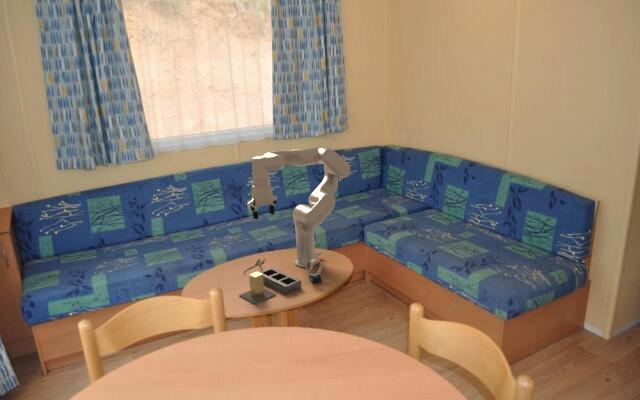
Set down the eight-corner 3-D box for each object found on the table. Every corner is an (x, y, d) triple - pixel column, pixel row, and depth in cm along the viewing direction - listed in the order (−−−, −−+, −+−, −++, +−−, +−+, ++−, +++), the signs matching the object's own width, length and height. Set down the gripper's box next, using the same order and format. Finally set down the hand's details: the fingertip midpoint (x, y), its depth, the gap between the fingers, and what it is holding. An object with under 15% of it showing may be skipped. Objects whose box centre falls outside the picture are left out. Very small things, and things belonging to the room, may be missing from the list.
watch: (305, 280, 231) (304, 259, 228) (320, 277, 234) (319, 256, 231) (309, 285, 226) (308, 263, 223) (324, 281, 229) (324, 260, 226)
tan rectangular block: (259, 291, 220) (257, 271, 218) (264, 294, 217) (262, 274, 215) (251, 294, 218) (249, 274, 215) (256, 297, 215) (254, 277, 212)
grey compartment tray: (258, 280, 233) (257, 273, 232) (272, 274, 239) (272, 267, 238) (286, 294, 217) (285, 286, 216) (301, 288, 223) (300, 280, 222)
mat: (260, 287, 226) (260, 286, 226) (276, 295, 217) (276, 294, 217) (239, 296, 218) (239, 294, 218) (254, 304, 209) (254, 303, 209)
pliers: (242, 274, 239) (247, 259, 259) (243, 276, 240) (247, 260, 259) (262, 273, 240) (264, 258, 259) (262, 275, 240) (265, 259, 259)
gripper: (271, 177, 236) (273, 210, 241) (241, 184, 225) (244, 219, 230) (280, 180, 231) (282, 213, 235) (250, 186, 220) (253, 222, 224)
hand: (264, 216), depth 232 cm, fingers open, 9 cm apart
